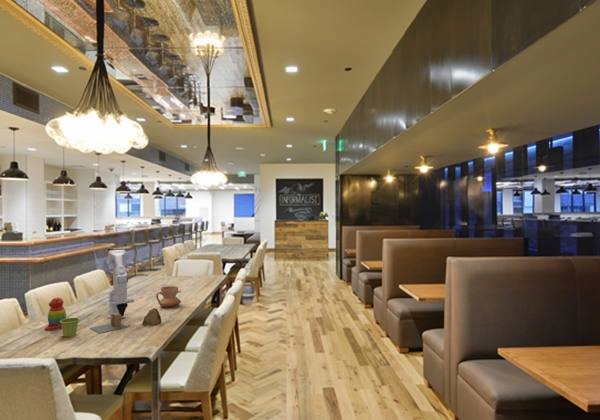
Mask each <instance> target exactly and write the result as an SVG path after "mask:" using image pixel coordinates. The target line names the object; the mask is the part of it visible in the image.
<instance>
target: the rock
mask: <svg viewBox="0 0 600 420" xmlns="http://www.w3.org/2000/svg"><path fill="white" fill-rule="evenodd" d="M160 323H162V318H161V314H160V311H159V310H158V308H157V307H154V308H152V309H149V310H148V312H147V313H146V315H144V318H143V320H142V325H143V326H145V325H155V324H160Z"/></svg>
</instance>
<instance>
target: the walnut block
mask: <svg viewBox="0 0 600 420" xmlns="http://www.w3.org/2000/svg"><path fill="white" fill-rule="evenodd" d="M110 321H111V322H110V323H111V326H113V327H120V326H121V324H122V318H121V314H119V313H113V314H111V318H110Z"/></svg>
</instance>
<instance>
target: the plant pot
mask: <svg viewBox="0 0 600 420" xmlns="http://www.w3.org/2000/svg"><path fill="white" fill-rule="evenodd" d="M80 320H81V319H80V318H79V317H69V318H68V317H66V319H63V320H61V321H60V322H61V325H62V328H61V329H62V330H61V331H62V336H63V338H64V337H65V338H66V337H67V338H69V337H74V336H76V335H77V331H78V330H77V329H78V324H79V321H80Z"/></svg>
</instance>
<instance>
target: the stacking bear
mask: <svg viewBox="0 0 600 420" xmlns="http://www.w3.org/2000/svg"><path fill="white" fill-rule="evenodd" d="M63 305H64V299H63V298H61V297H59V296H57V297H54V298H52V300H51V301H49V303H48V306H49V307H50V308H49V309H48V315H47V322H48V325H47V326H45V328H44V331H47V332H48V331H54V330H60V329H62V325H61V322H60V321H61V320H63V319H66V318H67V312H66V308H65V307H64V306H63Z"/></svg>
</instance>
